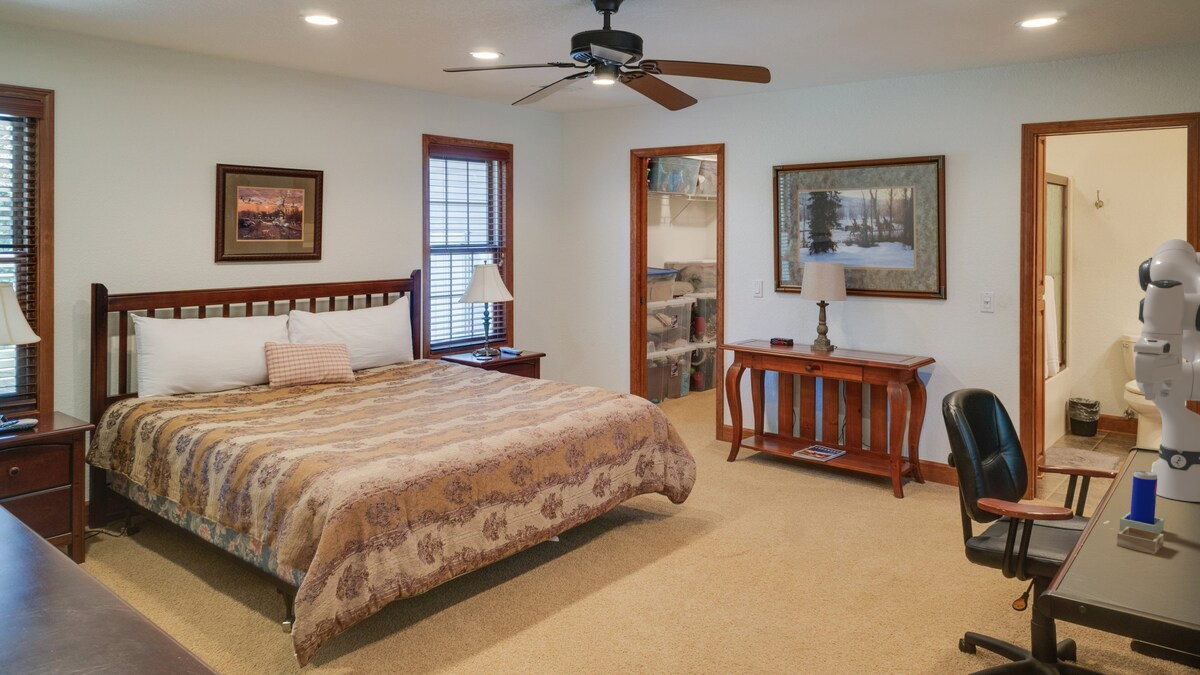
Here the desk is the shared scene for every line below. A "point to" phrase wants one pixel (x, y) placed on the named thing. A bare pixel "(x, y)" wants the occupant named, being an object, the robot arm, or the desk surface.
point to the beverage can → (1143, 497)
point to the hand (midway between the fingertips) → (1157, 398)
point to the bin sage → (1142, 524)
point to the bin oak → (1140, 540)
